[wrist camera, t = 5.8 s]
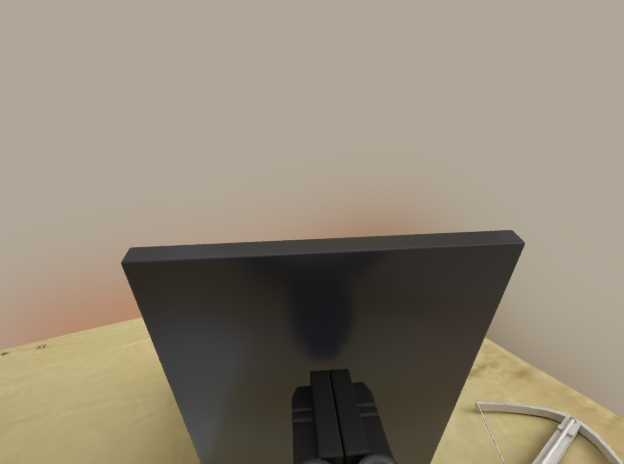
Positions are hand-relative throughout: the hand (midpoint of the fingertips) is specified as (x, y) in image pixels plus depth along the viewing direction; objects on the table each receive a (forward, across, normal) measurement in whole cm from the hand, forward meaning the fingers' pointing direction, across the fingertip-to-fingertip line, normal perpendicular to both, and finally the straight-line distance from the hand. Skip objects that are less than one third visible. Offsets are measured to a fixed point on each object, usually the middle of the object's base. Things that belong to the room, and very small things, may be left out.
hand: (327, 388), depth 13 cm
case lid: (+2, 0, +2) cm, 3 cm away
